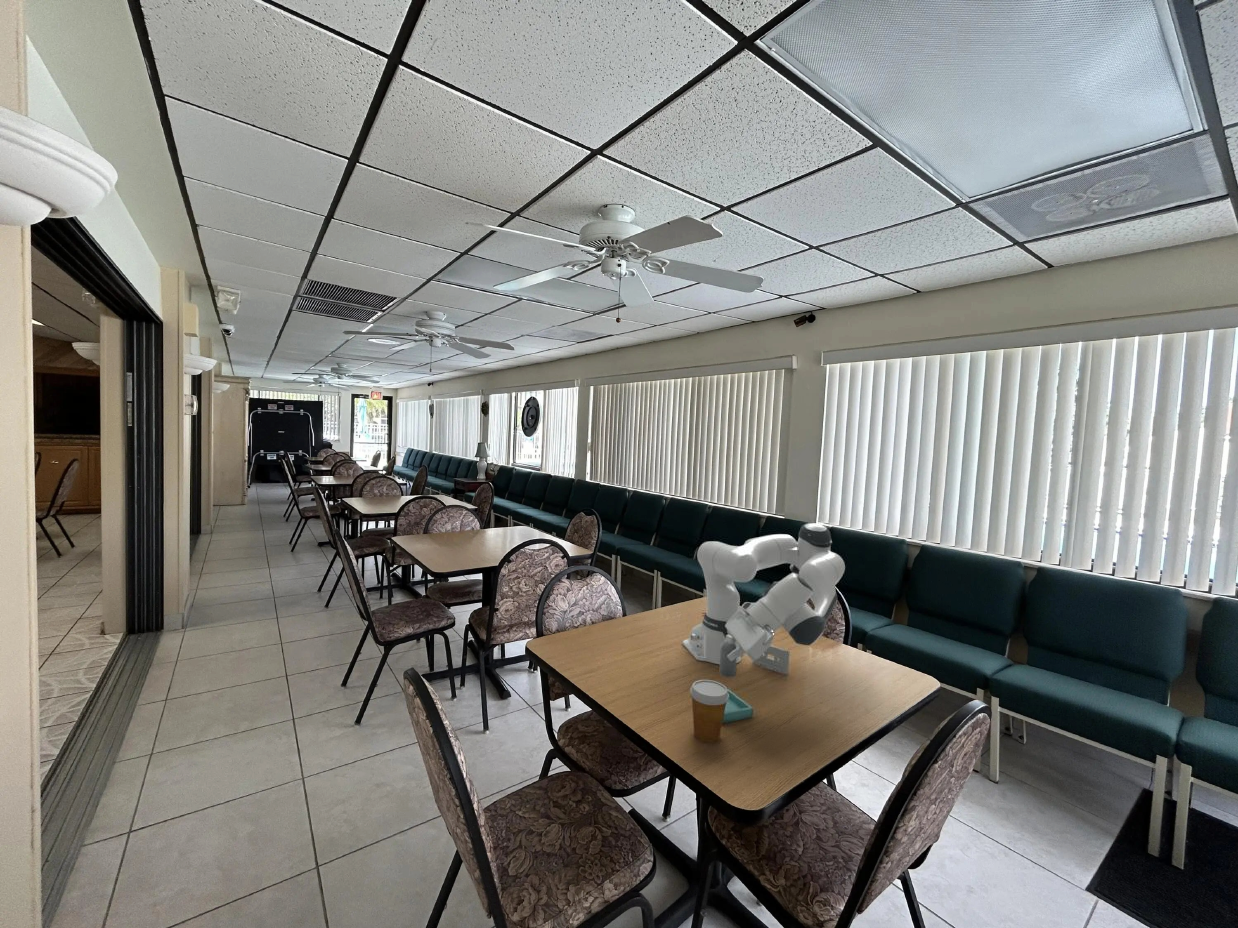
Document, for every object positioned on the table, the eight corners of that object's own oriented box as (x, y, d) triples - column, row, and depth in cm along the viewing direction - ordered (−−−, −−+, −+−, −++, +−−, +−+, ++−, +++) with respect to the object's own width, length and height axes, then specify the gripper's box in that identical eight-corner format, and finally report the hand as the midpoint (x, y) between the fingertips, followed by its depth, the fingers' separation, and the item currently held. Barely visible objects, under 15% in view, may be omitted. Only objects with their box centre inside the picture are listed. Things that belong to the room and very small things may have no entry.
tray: (696, 701, 141) (697, 692, 141) (725, 695, 145) (726, 687, 145) (722, 723, 130) (722, 714, 130) (752, 716, 134) (753, 708, 134)
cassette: (752, 663, 169) (753, 641, 169) (754, 662, 170) (755, 639, 170) (786, 675, 161) (788, 652, 161) (788, 673, 163) (790, 650, 162)
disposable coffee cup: (720, 724, 129) (723, 679, 129) (730, 747, 120) (733, 697, 119) (684, 723, 129) (687, 677, 128) (691, 745, 119) (694, 696, 119)
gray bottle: (716, 670, 138) (718, 634, 138) (729, 668, 140) (731, 632, 140) (725, 677, 134) (727, 639, 134) (738, 675, 136) (741, 638, 136)
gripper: (784, 642, 127) (745, 679, 127) (757, 615, 148) (722, 647, 147) (769, 624, 127) (729, 661, 126) (743, 600, 147) (708, 631, 147)
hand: (725, 653), depth 137 cm, fingers closed on gray bottle, 4 cm apart
